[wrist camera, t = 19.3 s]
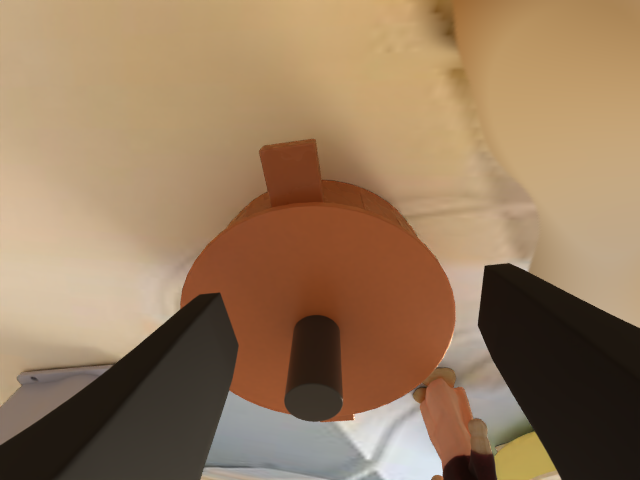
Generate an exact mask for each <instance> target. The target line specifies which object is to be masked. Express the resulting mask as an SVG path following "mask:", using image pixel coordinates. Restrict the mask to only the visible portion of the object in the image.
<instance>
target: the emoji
mask: <svg viewBox="0 0 640 480" xmlns="http://www.w3.org/2000/svg"><path fill="white" fill-rule="evenodd" d="M495 448H496V450H497V452H498V453H497V454H496V455H495V456H494V460H495V467H496V475H497V480H561V478H560V476H559V474H558V472H557V470H556V468H555V466H554V464H553V462H552V461H551V459H550V457H549V455H548V453H547V452H546V450H545V448H544V446H543V444H542V443H541V441H540V439H539V438H538V436H537V434H536V433H535V431H533V432H530V433H527V434H525V435H523V436H520V437H518V438H516V439H514V440H513V441H511V442H508V443H505V444H503V445H500V446H497V447H495Z"/></svg>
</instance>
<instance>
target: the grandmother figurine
mask: <svg viewBox="0 0 640 480" xmlns="http://www.w3.org/2000/svg"><path fill="white" fill-rule="evenodd" d="M455 379H456V376H455V372H454V371H453V370H452V369H449V368H436V369H435V370H434V371H433V372H432V373H431V374H430V375H429V376H428V377H427V378H426V379H425V380H424V381H423V382H422V383H423V384H424V385H426V386H427V388H419V389H417V390H416V391H415V392H414V394H413V398H414V399H415V401H417V402H418V403H420V410H421V413H422V416H423V420H424V422H425V425H426V428H427V431H428V434H429V437H430V440H431V442H432V444H433V445H434V447H435V449H436V451H437V453H438V455H439V457H440V459H441V461H442V468H443V477H442V476H440V475H435V476H433V477H432V479H431V480H497V475H496V467H495V460H494V455H493V453H492V451H491V446H490V442H489V440H488V438H487V426H486V424H485V423H484V422H483V421H482V420H481V419H473V416H472V412H471V409H470V405H469V401H468V398H467V396H466V393H465V390H464V388H462V387H457V388H453V387H454V383H455Z"/></svg>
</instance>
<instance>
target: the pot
mask: <svg viewBox="0 0 640 480" xmlns="http://www.w3.org/2000/svg"><path fill="white" fill-rule="evenodd" d="M259 154H260V158H261V163H262V167H263V171H264V176H265V180H266V185H267V189H268V192H266V193H264V194H262V195H261V196H259V197H258V198H256V199H254V200H253V201H251V202H250V203H249V204H248V205H247V206H246V207H245V208H244V209H243V210H242V211H241V212H240V213H239V214H238V215H237V216H236V217H235V218H234V219H233V220H232V221H231V222H230V224H229V225H228V227H230V226H231V225H233V224H234V223H235V222H237V221H239V220H241V219H243V218H246V217H248V216H250V215H252V214H254V213H257V212H260V211H263V210H266V209H269V208H272V207H277V206H282V205H288V204H293V203H308V202H322V203H337V204H342V205H348V206H353V207H358V208H361V209H364V210H367V211H370V212H373V213H376V214H379V215H381V216H383V217H385V218H387V219H389V220H391V221H394V222H396V223H397V224H399V225H400V226H402V227H403V228H405V229H406V230H408V231H409V232H411V233H412V234H413V235H414V236H416V234H415V232H414V230H413V228H412V227H411V226H410V225H409V224H408V222H407V221H406V220H405V219H404V218H403V216H402V215H401V214H400V213H399V212H398V211H397V210H396V209H395V208H394V207H393V206H392V205H391V204H389V203H388V202H387V201H385V200H384V199H382V198H381V197H379V196H378V195H376V194H374V193H372V192H370V191H368V190H365V189H363V188H360V187H357V186H354V185H351V184H348V183H343V182H337V181H329V180H321V173H320V166H319V159H318V152H317V145H316V140H315V139H308V140H301V141H294V142H287V143H279V144H272V145H265V146H263V147H262V148H261V149H260V150H259ZM228 227H227V228H228ZM227 228H226V229H227ZM416 237H417V236H416ZM417 238H418V237H417ZM354 419H355V416H354V414H350V415H343V416H334V417H333V418H331V419H328V420H324V421H320V422H331V421H347V420H354Z"/></svg>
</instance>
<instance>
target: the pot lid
mask: <svg viewBox="0 0 640 480" xmlns="http://www.w3.org/2000/svg"><path fill="white" fill-rule="evenodd" d="M218 292H220V293H221V296H222V299H223V302H224V305H225V307H226V310H227V313H228V316H229V319H230V322H231V324H232V327H233V330H234V333H235V336H236V339H237V342H238V344H239V347H238V353H237V359H236V364H235V369H234V374H233V379H232V382H231V386H230V389H229V390H230V391H231V392H233V393H234V394H236V395H238V396H240V397H242V398H243V399H245V400H247V401H249V402H252V403H254V404H257V405H259V406H261V407H265V408H268V409H271V410H274V411H278V412H282V413H287V414H292V415H293V416H295V417H297V418H299V419H302V420H305V421H313V422H317V421H324V420H328V419H331V418H333V417H334V416H343V415H350V414H356V413H361V412H365V411H368V410H372V409H375V408H378V407H381V406H383V405H386V404H388V403H391V402H392V401H394V400H396V399H398V398H400V397H402V396H404V395H405V394H407V393H409V392H410V391H412V390H413V389H415V388H416V387H417V386H418V385H419V384H421V383H422V382H423V381H424V380H425V379H426V378H427V377H428V376H429V375H430V374H431V373H432V372H433V371H434V370H435V369H436V367H437V366H438V364H439V363H440V362H441V360H442V359H443V357H444V355H445V353H446V351H447V349H448V347H449V345H450V342H451V339H452V336H453V332H454V326H455V301H454V296H453V291H452V288H451V286H450V283H449V280H448V278H447V276H446V274H445V272H444V270H443V269H442V267H441V265H440V264H439V262H438V260H437V259H436V257H435V256H434V255H433V254H432V253H431V251H430V250H429V249H428V248H427V247H426V245H425V244H424V243H422V242H421V241H420V240H419V239H418V238H417V237H416V236H414V235H413V234H412V233H411V232H409V231H408V230H406V229H405V228H403V227H402V226H400V225H399V224H397V223H396V222H394V221H391V220H389V219H387V218H385V217H383V216H381V215H379V214H376V213H373V212H370V211H367V210H364V209H361V208H358V207H353V206H348V205H342V204H337V203H322V202H308V203H293V204H288V205H282V206H277V207H272V208H269V209H266V210H263V211H260V212H257V213H254V214H252V215H250V216H248V217H246V218H243V219H241V220H239V221H237V222H235V223H234V224H233V225H231V226H230V227H228V228H227V229H225V230H224V231H222V232H221V233H220V234H219V235H217V236H216V237H215V238H214V239H213V240H212V241H211V242H210V243H209V244H208V245H207V246H206V247H205V249H204V250H203V251H202V252H201V254H200V255H199V256H198V257H197V259H196V260H195V262H194V264H193V266H192V267H191V269H190V271H189V273H188V275H187V278H186V280H185V283H184V286H183V290H182V296H181V303H180V305H181V309H182V308H183V307H184V306H185V305H186V304H188V303H189V302H190V301H191V300H193V299H194V298H195V297H197V296H198V295H199V294H209V293H218Z"/></svg>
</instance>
